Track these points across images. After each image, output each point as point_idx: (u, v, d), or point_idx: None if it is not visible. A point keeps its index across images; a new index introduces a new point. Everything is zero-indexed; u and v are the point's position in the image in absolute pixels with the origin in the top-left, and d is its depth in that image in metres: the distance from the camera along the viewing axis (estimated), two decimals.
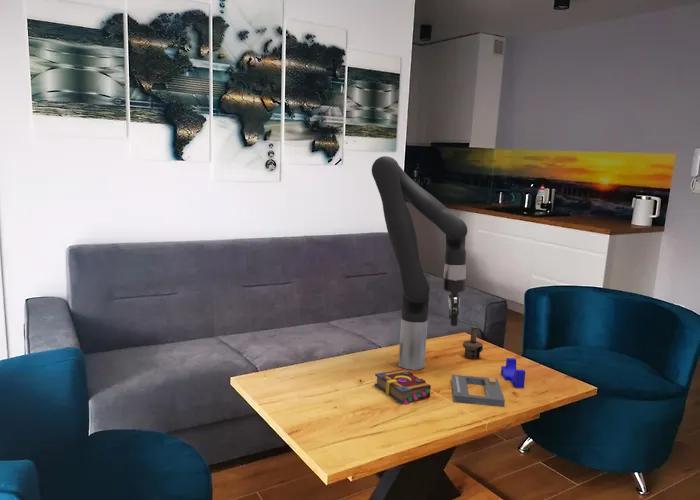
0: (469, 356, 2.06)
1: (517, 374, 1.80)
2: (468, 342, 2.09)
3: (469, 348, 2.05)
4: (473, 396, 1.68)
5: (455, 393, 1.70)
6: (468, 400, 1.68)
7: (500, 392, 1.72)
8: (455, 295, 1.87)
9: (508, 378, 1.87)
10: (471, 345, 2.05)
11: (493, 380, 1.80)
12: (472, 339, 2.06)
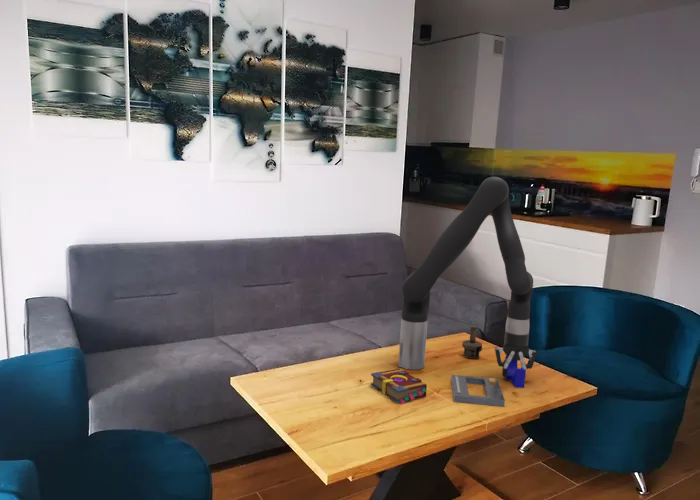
0: (468, 356, 2.07)
1: (517, 373, 1.80)
2: (467, 342, 2.09)
3: (468, 348, 2.05)
4: (473, 396, 1.68)
5: (455, 393, 1.70)
6: (468, 400, 1.68)
7: (500, 392, 1.72)
8: None
9: (509, 377, 1.87)
10: (470, 345, 2.06)
11: (493, 380, 1.80)
12: (471, 339, 2.07)
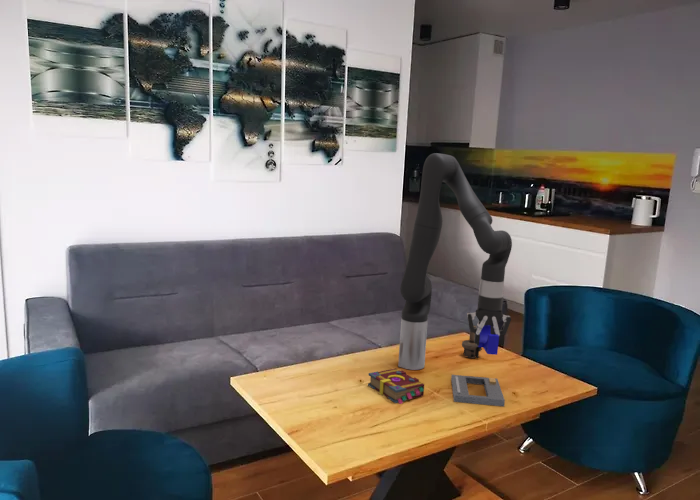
0: (468, 355, 2.07)
1: (490, 339, 1.69)
2: (467, 341, 2.09)
3: (468, 347, 2.05)
4: (473, 396, 1.68)
5: (455, 393, 1.70)
6: (468, 400, 1.68)
7: (500, 392, 1.72)
8: (502, 313, 1.74)
9: (481, 344, 1.76)
10: (470, 344, 2.06)
11: (493, 380, 1.80)
12: (471, 338, 2.07)
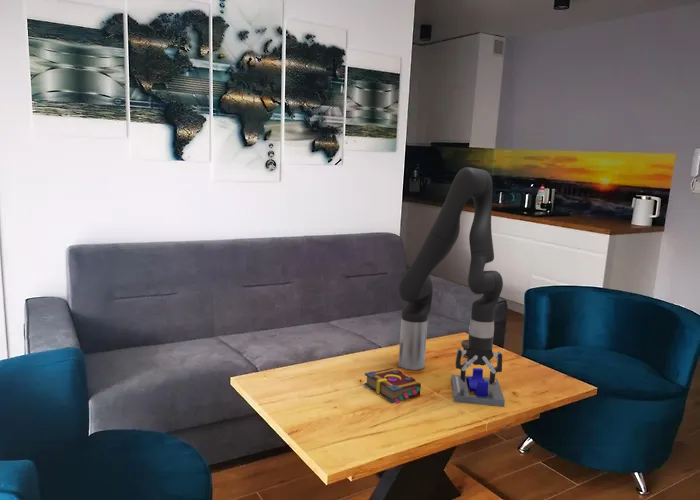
0: None
1: (479, 386, 1.70)
2: (466, 341, 2.09)
3: (467, 347, 2.06)
4: (473, 396, 1.68)
5: (455, 393, 1.70)
6: (468, 400, 1.68)
7: (500, 392, 1.72)
8: None
9: (472, 389, 1.76)
10: None
11: None
12: None
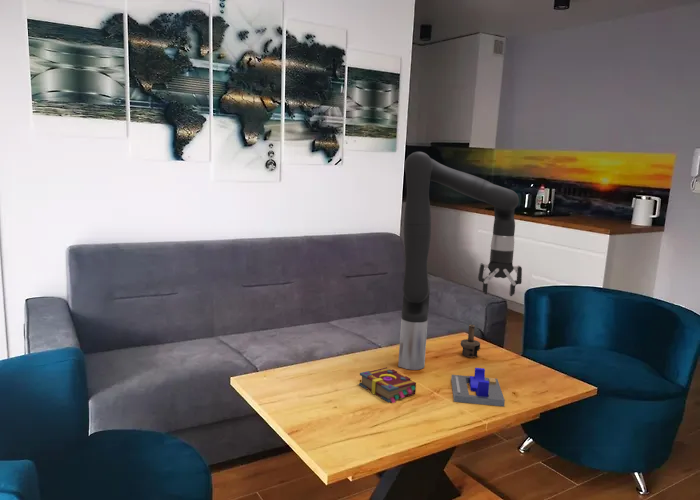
0: (467, 355, 2.08)
1: (480, 385, 1.70)
2: (466, 341, 2.10)
3: (467, 347, 2.06)
4: (473, 396, 1.68)
5: (455, 393, 1.70)
6: (468, 400, 1.68)
7: (500, 392, 1.72)
8: None
9: (474, 389, 1.76)
10: (469, 344, 2.07)
11: (493, 380, 1.80)
12: (470, 338, 2.08)
